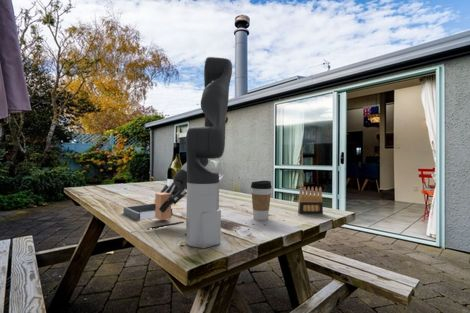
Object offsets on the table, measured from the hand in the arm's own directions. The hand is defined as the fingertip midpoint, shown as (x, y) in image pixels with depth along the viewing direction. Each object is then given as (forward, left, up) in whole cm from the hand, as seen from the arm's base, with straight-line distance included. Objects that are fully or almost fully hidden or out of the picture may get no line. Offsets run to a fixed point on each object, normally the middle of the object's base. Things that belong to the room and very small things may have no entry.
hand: (158, 209), depth 90 cm
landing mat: (0, -2, -5) cm, 6 cm away
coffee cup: (-18, -35, -5) cm, 40 cm away
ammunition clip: (-26, -59, -5) cm, 65 cm away
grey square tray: (+13, -2, -5) cm, 15 cm away
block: (0, -2, -3) cm, 4 cm away
